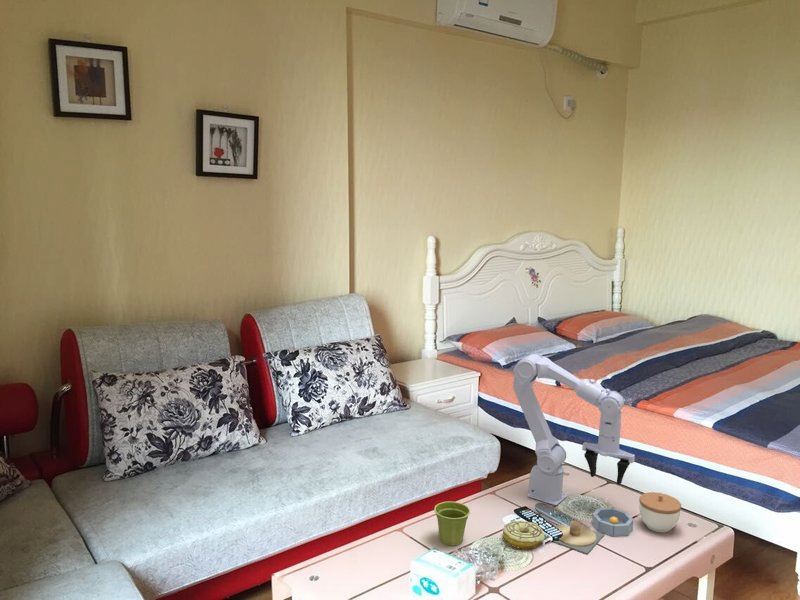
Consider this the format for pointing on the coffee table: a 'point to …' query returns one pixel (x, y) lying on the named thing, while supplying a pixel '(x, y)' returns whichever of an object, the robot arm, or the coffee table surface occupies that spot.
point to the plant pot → (451, 521)
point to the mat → (585, 548)
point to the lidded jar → (659, 511)
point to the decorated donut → (523, 534)
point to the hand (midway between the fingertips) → (606, 479)
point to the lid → (577, 534)
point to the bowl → (612, 521)
